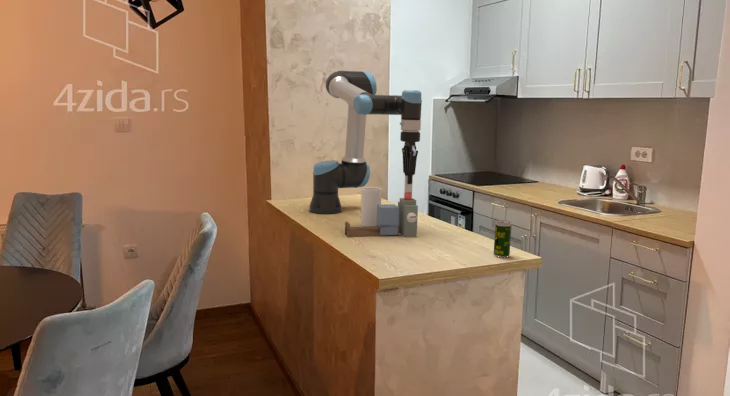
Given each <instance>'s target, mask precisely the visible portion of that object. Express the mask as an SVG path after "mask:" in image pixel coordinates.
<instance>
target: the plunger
mask: <svg viewBox="0 0 730 396" xmlns="http://www.w3.org/2000/svg"><path fill="white" fill-rule="evenodd" d="M403 195H404V196H403V198H404V200H412V198H413V191H412V192H404V193H403Z"/></svg>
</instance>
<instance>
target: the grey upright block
mask: <svg viewBox="0 0 730 396" xmlns="http://www.w3.org/2000/svg"><path fill="white" fill-rule="evenodd" d="M397 206H398V207H399V218H398V226H399V227H400V236H403V237H404V238H406V237H407V238H408V237H409V238H410V237H411V238H412V237H418V236H417V235H418V216H419V214H418V213H419V212H418V210H419V206H418V205H417V199H415V198H413V197H412V200H404V197H402V198H401V197H400V198H399V201H397Z"/></svg>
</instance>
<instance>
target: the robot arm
mask: <svg viewBox="0 0 730 396" xmlns="http://www.w3.org/2000/svg"><path fill="white" fill-rule="evenodd" d="M376 81H377V80H376V79H375V76H374V75H373V74H372V73H371V72H368V71H363V70H362V71H360V70H359V71H357V70H352V71H350V70H337V71H334V72H332V73H331V74H330V75H329V76H328V77H327V78H326V80H325V90H326V93H328V94H329V95H330V96H332V98H335V99H341V100H343V101H344V102H346V103H347V122H346V139H345V153H344V154H345V155H344V156H342V158H341V163H340V162H339V161H338V160H324V161H319V162H316V163H315V164H314V165H313V171H312V177H313V178H312V181H313V182H312V183H313V184H312V185H313V187H312V189H313V190H312V191H313V192H312V198H311V200H310V202H309V203H310V204H309V207H308V208H309V212H311V213H314V214H319V215H322V214H323V215H328V214H329V215H331V214H339V213H342V208H343V207H342V204H341V200H340V197H339V189H350V188H351V189H352V188H355V189H357V188H363V187H366V185H367V184H368V183H369V180H370V175H371V170H370V168H371V167H370V165H369V164H368V163H367V159H366V158H365V157H364V152H365V136H366V124H367V123H366V122H367V115H389V116H391V115H392V116H396V115H397V116H400V121H401V122H399V125H400V130H401V131H400V142H403V143H404V144H403V147H402V148H401V152H402V171H403V172H402V173H404V192H412V193H413V184H414V183H413V182H414V181H413V177H414V175H416V167H417V159H418V154H419V150H417V146H416V143H417V142H418V143H419V142H420V141H421V132H420V131H421V129H422V128H421V126H422V118H421V117H422V103H423V100H422V91H420V90H410V89H405V90H403V91H402V93H401V95H398V94H396V95H394V94H392V95H389V94H386V95H384V94H381V95H380V94H377V91H378V89H377V82H376Z"/></svg>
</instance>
